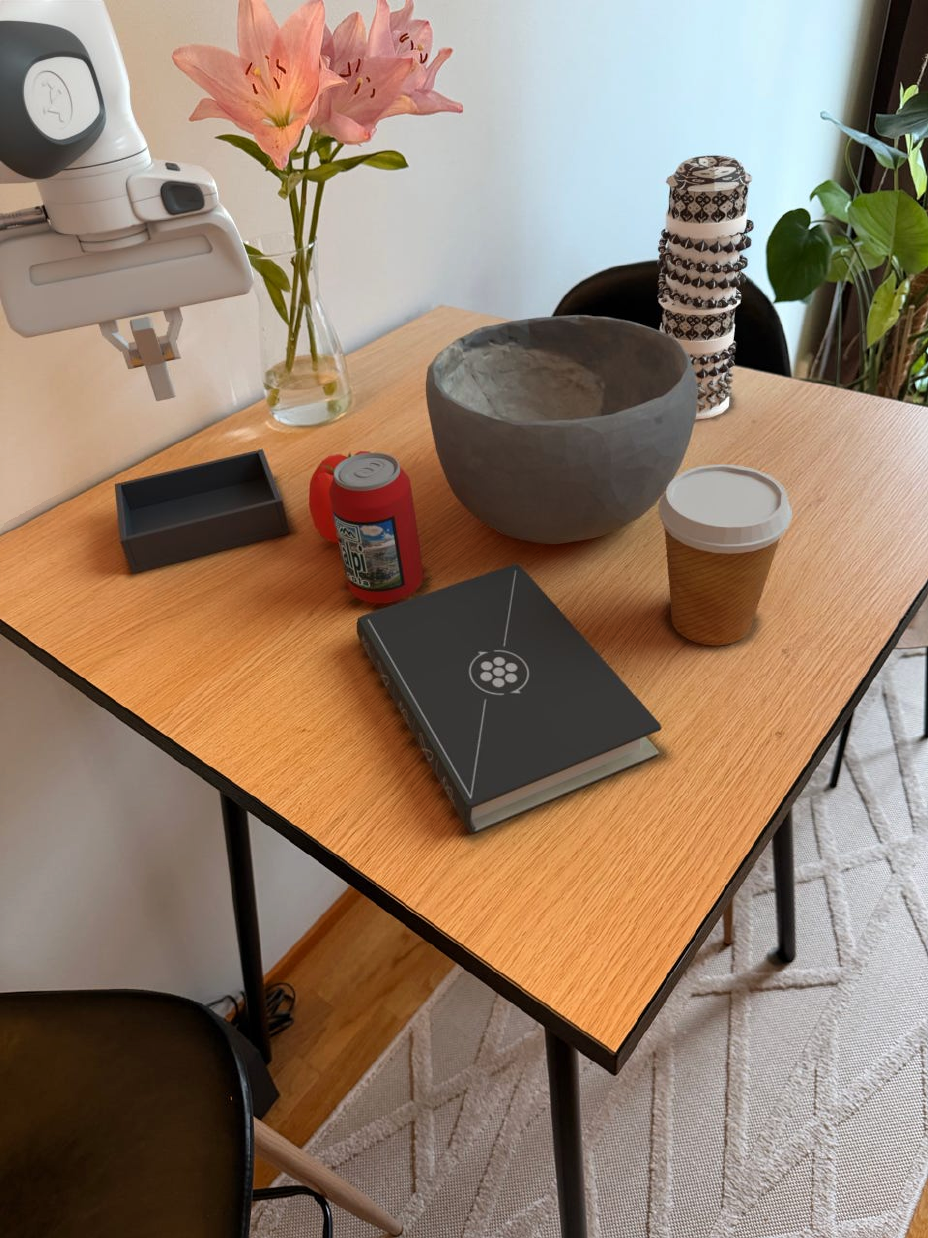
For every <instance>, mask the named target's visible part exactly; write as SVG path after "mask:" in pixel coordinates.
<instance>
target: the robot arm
mask: <svg viewBox="0 0 928 1238" xmlns="http://www.w3.org/2000/svg"><path fill="white" fill-rule="evenodd" d="M123 57H124V56H123V53H122V50H121V47H120V44H119V41H118V37H117V34H116V31H115V28H114V26H113V23H112V19H111V16H110V14H109V11H108V9H107V6H106V3H105V1H104V0H0V185H7V184H8V185H9V184H29V183H30V184H31V183H35V184H36V186H37V189H38V192H39V195H40V197H41V201H42V205H36V206H32V207H27V208H21V209H19V210H16V211H15V210H14V211H12V212H5V213H3V212H0V303H1V307H2V310H3V313H4V315H5V318H6V321H7V324H8V326H9V328H10V330H11V331H13V332H14V333H16V334H18V335H19V336H21V337H22V338H25V339H29V338H34V337H39V336H44V335H49V334H54V333H59V332H64V331H68V330H74V329H80V328H84V327H88V326H94V325H98V327H99V329H100V332H101V335H102V337H103V338H104V339H106V341H108V342H109V343H110V344H111V345H112V346H114V347H115V348H116V349H117V350H118V351H119V352H122V355H123V356H122V357H123V358H124V361H125V364H126V367H127V369H128V370H133V369H136V368H137V369H138V368H141V367H145V366H144V364H143V362H142V359H141V356H140V353H139V350H138V348H137V345H136V342H135V341H130V342H129V341H127V339H126V338H125V337H124V336H123V335H121V334H120V332H119V323H118V321H119V320H124V319H128V318H134V317H138V316H143V315H144V316H145V315H148V314H149V315H150V314H154V313H159V312H163V315H164V318H165V321H166V322H167V323H168V327H167V330H166V333H165V334H164V335H161V336H157V337H158V342H159V345H160V348H161V351H162V354H163V359H164V362H166V363H167V362H171V361H175V360H180V359H182V357H181V352H180V350H179V345H178V343H177V341H178V338H179V336H180V335H179V334H180V331H181V327H182V324H183V321H184V318H183V315H182V311H181V308H183V307H188V306H193V305H198V304H199V305H200V304H204V303H208V302H214V301H218V300H224V299H228V298H234V297H240V296H244V295H247V294H249V293H250V291H251V290H252V287H253V285H254V283H255V276H254V272H253V269H252V265H251V261H250V258H249V256H248V252H247V250H246V247H245V245H244V242H243V239H242V237H241V235H240V232H239V230H238V228H237V226H236V224H235V222H234V220H233V218H232V217H231V215H230V213H229V211H228V210H227V209H226V207H225V206H224V205H223V204H222V203H221V202H220V201H219V192H218V186H217V184H216V181H215V179H214V177H213V176H212V174H211V173H210V172H209V171H208V170H207V169H205V168H204V167H202V166H200V165H198V164H197V165H196V164H192V163H187V162H180V161H179V162H178V161H172V160H165V159H160V158H154V157H151V154H150V150H149V146H148V143H147V140H146V137H145V136H144V134H143V132H142V130H141V129H140V127H139V125H138V123H137V120H136V117H135V116H134V112H133V109H132V103H131V84H130V78H129V74H128V71H127V67H126V64H125V60H124V58H123Z"/></svg>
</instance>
